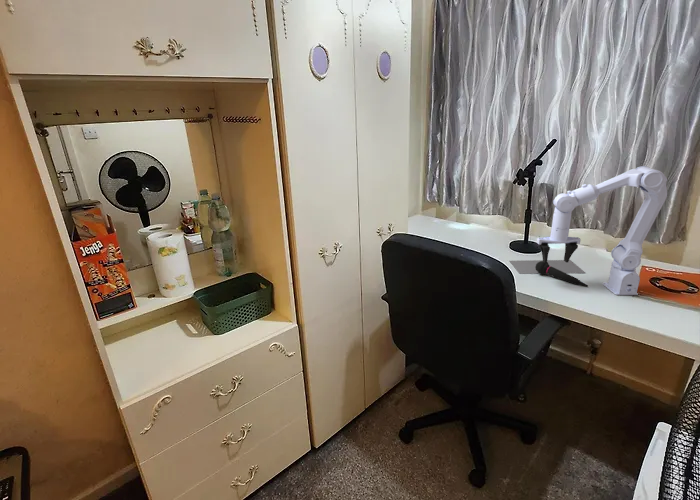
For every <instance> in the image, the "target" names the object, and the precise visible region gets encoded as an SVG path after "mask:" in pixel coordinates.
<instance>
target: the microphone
mask: <svg viewBox="0 0 700 500" xmlns="http://www.w3.org/2000/svg"><path fill="white" fill-rule="evenodd" d="M535 268H536V270H537V271H538V272H539V275H545V273H547V275H549V276H551V277H553V278H555V279H560V280H562V281H564V282H568V283H569V284H573V285H576V286H577V285H579V286H582V287H587V288H588V287H589V285H588V284H586V283H585V282H583V281H581V279H579V278H576V277H575V276H573V275H570V273H564V272H562V271H560V270H558V269H556V268H554V267H551V266H549V264H548V262H547V263H545V262H544V261H540V262H538V263H537V264H536V266H535Z"/></svg>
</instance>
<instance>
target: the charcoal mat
mask: <svg viewBox="0 0 700 500" xmlns="http://www.w3.org/2000/svg"><path fill="white" fill-rule="evenodd" d="M540 261H543V259H539V260H536V259H535V260H531V259H530V260H509V263H510V264H511V265H512V267H513V268H514V269H515V270H516V271H517V273H518V274H520V275H521V274H522V275H523V274H524V275H527V274H531V275H532V274H539V272H538V271H537V270H536V268H535V266H536V264H537V263H538V262H540ZM547 262H548V264H549V266H551V267H554V268H556V269H558V270H560V271H562V272H564V273H566V274H586V271H584V270H583V269H582V268H581V267H580V266H579V265H577V264H576V263H574V261H572V259H569V261H568V262H565V261H564V259H550V260H549V259H547ZM545 274H547V273H545ZM545 274H544V275H545ZM539 275H540V274H539ZM547 275H548V274H547Z"/></svg>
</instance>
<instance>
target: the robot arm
mask: <svg viewBox="0 0 700 500" xmlns="http://www.w3.org/2000/svg"><path fill="white" fill-rule="evenodd" d="M667 182H668V178H667V177H666V175H665V173H663V172H662V171H661V170H658V169H654V168H651V167H649V166H647V165H642V166H638V167H636V168H632V169H629V170H626V171H625V172H623V173H621V174H620V173H619V174H618V175H615V176H613V177H612V178H609V179H607V180H605V181H601V182H600V183H598V184H595V185H594V184H591V183H588V184H586V183H583V184H581V187H579V188H576V189H573V190H567V192H565V193H564V192H563V193H559V194H557V195H556V196H555V198H554V199H553V200H552V203H553V205H554V211H553V214H552V221H551V230H550V236H544V237H537V240H536V244H538V247H539V249H540V251H541V256H542V260H543V261H544V262H545V263H547V260H549V259H548V258H549V257H548V256H549V251H550V249H551V247H550V245H549V244H551V245H553V244H555V245H556V244H559V245H560V244H564V245H565V248H564V256H563V260H564V261H565V262H568V261H569V260H571V258H572V256H573V253H575V251H576V250H577V249H578V248H579V245H580V244H581V241H582V240H581V238H580V237H575V236H569V232H570V226H571V221H572V212H573V211H574V209H576V208H577V207H579V206H582V205H585V204H587V203H589V202H592V201H594V200H597V198H598V197H599V195H602V194H604V193H607V192H610V191H613V190H616V189H620V188H622V187H625V186H627V187H628V186H629V187H637V188H640V190H641V191H642V193H643V194H644V196H645V197H644V200H643V202H642V203H641V205H640V207H639V209H638V211H637V213H636V215H635V217H634V218H633V221H632V223H631V225H630V228H629V229H628V231H627V232H626V235H625V237H624V238H623V239H621V240H620V241H619V242H618V244H617V245H616V246H614V247H613V249H611V251H610V255H611V257H612V259H613V260H612V262H611V265H610V270H609V275H608V280H607V282H602V283H601V284H602V285H603V286H604V287H605V288H607V290H609V291H610V292H612V294H614V295H616V296H638V293H639V292H638V288H639V284H640V279H641V277H640V275H639V274H638V273H637V271H636V268H637V269H638V267H639V266H640V265H641V262H642V255H643V253H644V252H643V251H644V250H643V244H644V241H645V239H646V238H647V236H648V233H649V232H650V230H651V228H652V227H653V224H654V223H655V221H656V218H657V217H658V216H659V213H660V212H661V211H660V210H661V209H662V208H663V205H664V203H665V202H666V200H667V198H668V187H667ZM637 292H638V293H637Z"/></svg>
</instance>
